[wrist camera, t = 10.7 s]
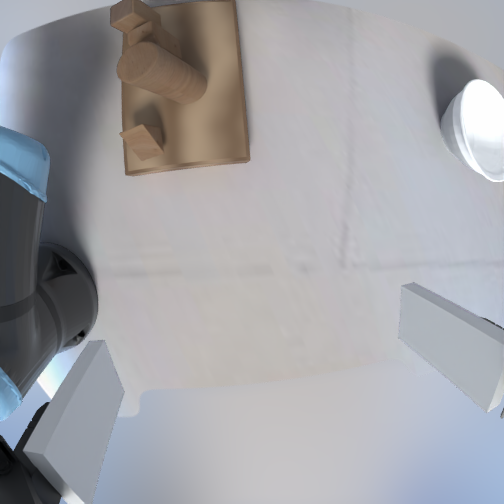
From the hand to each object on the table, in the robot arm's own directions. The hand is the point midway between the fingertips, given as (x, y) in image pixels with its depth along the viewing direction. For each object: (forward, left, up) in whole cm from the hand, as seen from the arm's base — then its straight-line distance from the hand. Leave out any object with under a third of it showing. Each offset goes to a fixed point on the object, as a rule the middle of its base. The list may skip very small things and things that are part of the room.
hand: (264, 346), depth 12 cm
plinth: (-4, +20, -26) cm, 33 cm away
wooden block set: (-6, +20, -23) cm, 31 cm away
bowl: (+39, +14, -27) cm, 50 cm away
